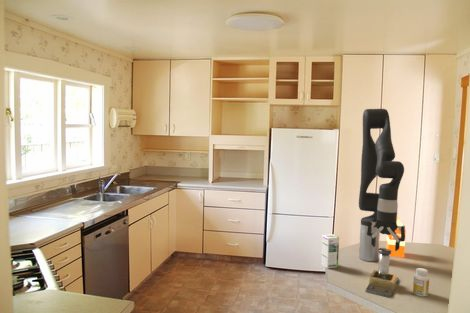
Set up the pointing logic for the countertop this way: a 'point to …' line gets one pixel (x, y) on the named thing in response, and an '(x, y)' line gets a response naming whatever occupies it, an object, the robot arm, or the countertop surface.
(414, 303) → the countertop surface
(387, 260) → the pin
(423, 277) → the supplement bottle
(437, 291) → the countertop surface
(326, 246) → the syrup box
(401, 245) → the orange juice
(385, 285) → the bolted socket base
